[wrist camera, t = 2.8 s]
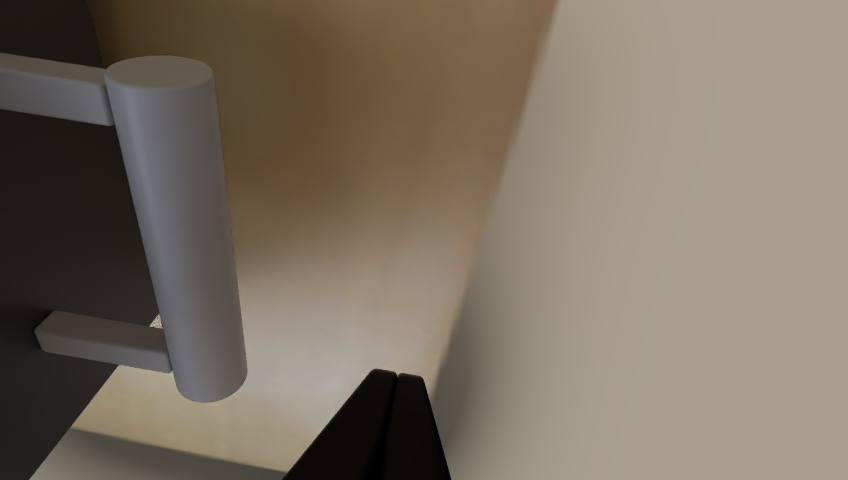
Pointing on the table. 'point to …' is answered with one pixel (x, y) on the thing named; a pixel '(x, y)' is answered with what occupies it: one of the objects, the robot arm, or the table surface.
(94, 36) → the drawer
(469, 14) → the table surface
